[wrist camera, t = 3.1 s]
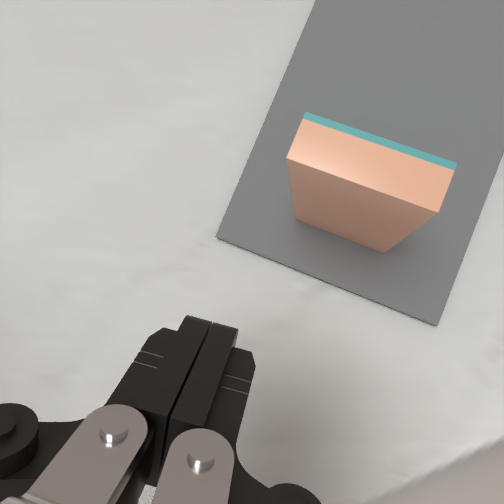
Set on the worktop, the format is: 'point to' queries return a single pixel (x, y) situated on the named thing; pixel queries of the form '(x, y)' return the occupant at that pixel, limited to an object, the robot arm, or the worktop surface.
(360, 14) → the mat
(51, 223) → the worktop surface
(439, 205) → the tile
